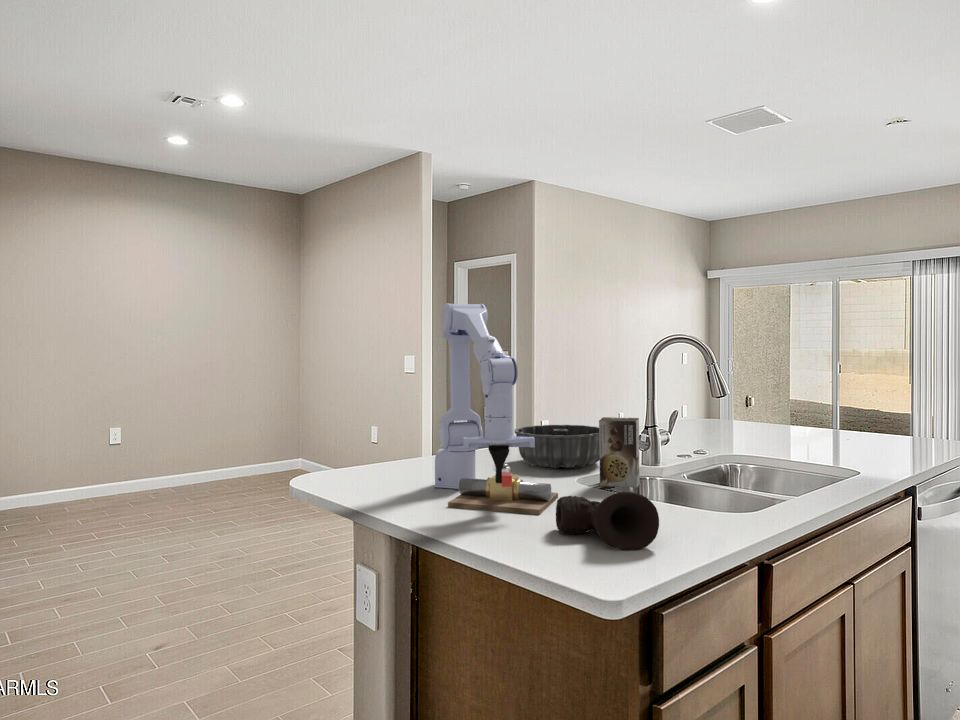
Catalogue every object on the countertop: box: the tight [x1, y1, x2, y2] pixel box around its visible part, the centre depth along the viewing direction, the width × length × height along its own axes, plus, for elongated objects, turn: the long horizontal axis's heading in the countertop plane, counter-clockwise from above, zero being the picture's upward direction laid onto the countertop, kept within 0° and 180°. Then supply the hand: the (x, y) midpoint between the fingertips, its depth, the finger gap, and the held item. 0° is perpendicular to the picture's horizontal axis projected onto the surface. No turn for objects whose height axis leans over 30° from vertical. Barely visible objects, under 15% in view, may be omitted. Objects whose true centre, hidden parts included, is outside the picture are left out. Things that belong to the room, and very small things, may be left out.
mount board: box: [447, 491, 559, 516], centre depth 148 cm, size 20×16×1 cm
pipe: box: [555, 491, 660, 552], centre depth 121 cm, size 10×15×15 cm
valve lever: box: [501, 463, 513, 487], centre depth 143 cm, size 12×3×3 cm, turn 1°
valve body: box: [458, 474, 552, 501], centre depth 148 cm, size 20×5×5 cm, turn 70°
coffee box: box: [598, 416, 641, 489], centre depth 165 cm, size 9×6×16 cm
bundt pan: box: [514, 424, 600, 470], centre depth 193 cm, size 26×26×10 cm
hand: (499, 482), depth 139 cm, fingers closed, pressing on valve lever
